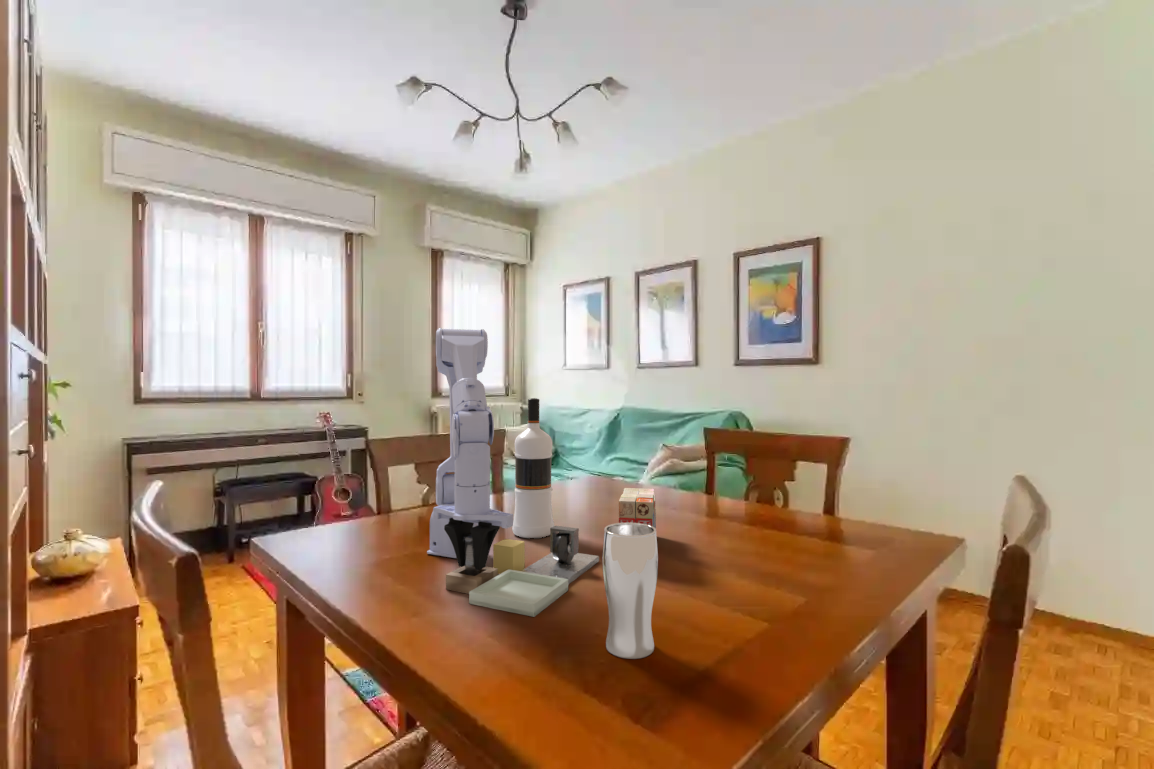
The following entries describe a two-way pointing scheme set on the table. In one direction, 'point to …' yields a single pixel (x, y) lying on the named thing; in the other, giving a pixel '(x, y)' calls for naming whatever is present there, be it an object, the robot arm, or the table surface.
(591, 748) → the table surface
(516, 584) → the tray
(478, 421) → the robot arm
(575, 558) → the trolley wheel
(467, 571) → the pin
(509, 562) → the pale yellow cube
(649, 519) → the stack of blocks
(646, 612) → the beer glass
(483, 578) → the socket
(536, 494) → the vodka
